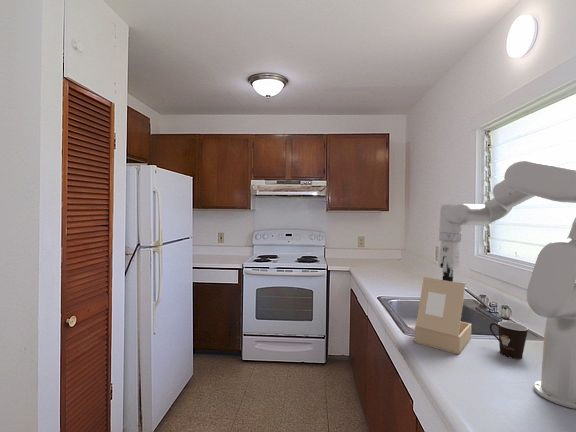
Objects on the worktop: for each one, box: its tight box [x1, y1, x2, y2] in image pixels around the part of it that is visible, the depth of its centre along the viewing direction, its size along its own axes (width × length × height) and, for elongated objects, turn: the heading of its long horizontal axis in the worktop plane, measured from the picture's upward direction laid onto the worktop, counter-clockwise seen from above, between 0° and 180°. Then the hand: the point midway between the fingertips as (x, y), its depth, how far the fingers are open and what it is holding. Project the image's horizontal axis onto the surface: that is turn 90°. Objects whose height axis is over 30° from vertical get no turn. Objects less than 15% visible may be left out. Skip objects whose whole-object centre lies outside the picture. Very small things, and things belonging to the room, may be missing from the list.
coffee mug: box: [489, 321, 529, 360], centre depth 120 cm, size 12×9×10 cm
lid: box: [415, 277, 466, 336], centre depth 123 cm, size 14×18×1 cm
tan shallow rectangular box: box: [413, 321, 472, 355], centre depth 129 cm, size 15×18×6 cm
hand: (447, 286), depth 129 cm, fingers closed
